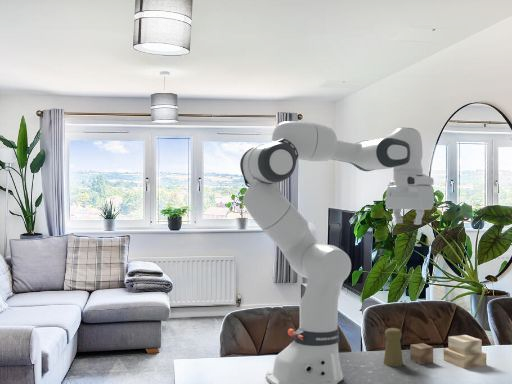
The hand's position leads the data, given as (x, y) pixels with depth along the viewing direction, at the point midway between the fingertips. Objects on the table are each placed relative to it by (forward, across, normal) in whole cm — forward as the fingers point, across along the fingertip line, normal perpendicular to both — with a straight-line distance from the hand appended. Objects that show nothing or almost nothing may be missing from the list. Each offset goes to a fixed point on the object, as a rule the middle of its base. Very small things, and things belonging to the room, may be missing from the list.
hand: (408, 223), depth 173 cm
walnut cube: (+44, -2, +6) cm, 45 cm away
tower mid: (+41, +4, +18) cm, 45 cm away
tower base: (+45, +4, +18) cm, 48 cm away
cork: (+44, -3, -4) cm, 45 cm away
